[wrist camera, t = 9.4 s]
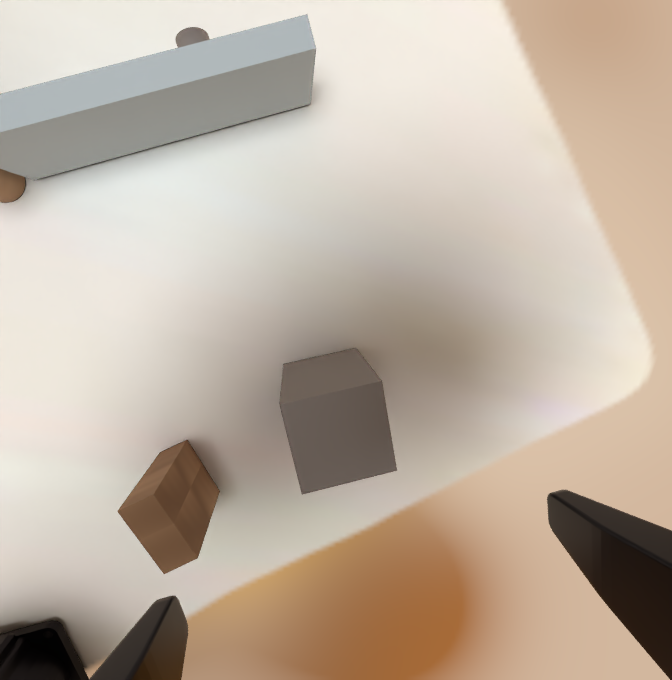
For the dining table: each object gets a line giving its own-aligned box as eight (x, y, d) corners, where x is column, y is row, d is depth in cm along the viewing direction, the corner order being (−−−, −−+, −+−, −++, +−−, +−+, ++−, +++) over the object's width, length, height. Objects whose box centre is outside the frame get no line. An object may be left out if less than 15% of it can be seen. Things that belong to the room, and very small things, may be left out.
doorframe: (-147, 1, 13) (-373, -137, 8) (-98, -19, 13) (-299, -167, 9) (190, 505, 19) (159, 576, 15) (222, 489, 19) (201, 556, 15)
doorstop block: (368, 414, 19) (396, 470, 14) (299, 430, 19) (301, 494, 14) (355, 347, 18) (381, 380, 13) (283, 363, 18) (279, 404, 13)
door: (33, 180, 15) (-60, 148, 11) (8, 125, 14) (-101, 71, 10) (310, 103, 15) (316, 48, 11) (295, 49, 15) (296, -29, 11)
